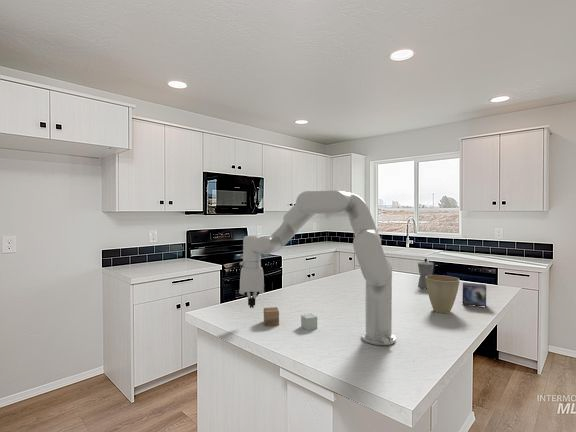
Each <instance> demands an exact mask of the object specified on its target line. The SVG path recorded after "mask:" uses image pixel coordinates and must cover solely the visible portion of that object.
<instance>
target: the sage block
mask: <svg viewBox="0 0 576 432" xmlns="http://www.w3.org/2000/svg"><path fill="white" fill-rule="evenodd" d="M300 327H301V328H302V329H304V330H305V331H310V330H311V331H312V330H315V329H318V316H316V315H315V314H313V313H306V314H301V315H300Z"/></svg>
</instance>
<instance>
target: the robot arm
mask: <svg viewBox="0 0 576 432" xmlns="http://www.w3.org/2000/svg"><path fill="white" fill-rule="evenodd" d="M342 213H343V214H346V215H347V217H348V219H349V224H350V226H351V228H352V231H353V234H354V238H353V241H352V247H353V250H354V254H355V256H356V259H357V262H358V265H359V267H360V271H361V274H362V276H363V278H364V280H365V331H364V332H362V333H361V340H363V341H364V342H365V343H367V344H371V345H375V346H389V345H390V346H391V345H393V344H395V343H396V341H397V338H396V337H397V336H395V334H393V332H392V328H393V327H392V326H393V325H392V318H393V317H392V314H393V313H392V311H393V310H392V306H393V305H392V300H393V298H392V297H393V296H392V292H393V291H392V290H393V289H392V288H393V284H392V283H393V268H392V264H391V262H390V260H389V259H388V258H386V254H385V252H384V249H383V246H382V238H381V236H380V234H379V231H378V229H377V226H376V223H375V221H374V219H373V216H372V214H371V211H370V208H369V206H368V205H367V202H366V201H365V200H364V199H363V198H362V197H360V196H359V195H357V194H355V193H353V192H347V191H342V190H305V191H303V192H301V193H299V194H298V195H297V197H296V199H295V203H294V205H293V206H292V207H291V208H290V209H289V210H288V211H287V212H285V214H284V215H283V219H282V220H283V221H282V222H281V224H280V226H279V227H278V228H277V229H276V230H274V232H273V233H272V234H270V235H266V236H258V235H246V236H244V238H243V239H242V240H243V241H242V243H243V244H242V252H243V253H242V261H240V262H239V266H242V267H241V269H240V276H239V278H240V279H239V292H238V294H240V295H244V296H245V297H246V298H247V306H249V308H250V309H251V308H252V309H254V307H255V306H256V298H257V297H258V296H259V295H261V294H262V295H263V294H264V293H265V279H264V278H265V277H264V275H265V274H264V269H263V267H262V261H261V260H262V257H261V255H265V256H266V255H271V254H274V253H276V252H278V251H280V250H281V249H283V248H284V247H285V246H286V245H287V244H288V243H289V242H290V241H291V240H292V238H293V237H294V236H295V235H296V234H297V233H298V232H299V230H300V229H302V227H303V226H305V224H307V222H309V220H311V219H312V218H313V217H314V216H315V215H316V214H321V215H322V214H342ZM251 293H252V295H251Z"/></svg>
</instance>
